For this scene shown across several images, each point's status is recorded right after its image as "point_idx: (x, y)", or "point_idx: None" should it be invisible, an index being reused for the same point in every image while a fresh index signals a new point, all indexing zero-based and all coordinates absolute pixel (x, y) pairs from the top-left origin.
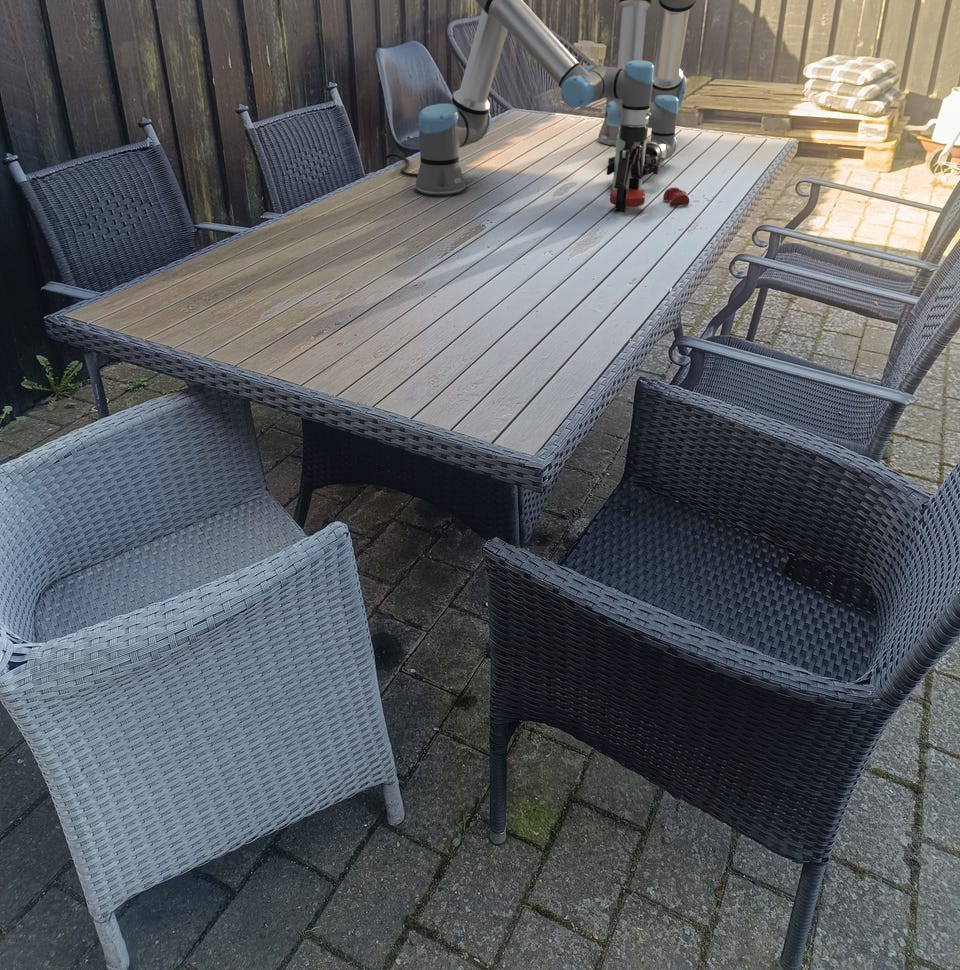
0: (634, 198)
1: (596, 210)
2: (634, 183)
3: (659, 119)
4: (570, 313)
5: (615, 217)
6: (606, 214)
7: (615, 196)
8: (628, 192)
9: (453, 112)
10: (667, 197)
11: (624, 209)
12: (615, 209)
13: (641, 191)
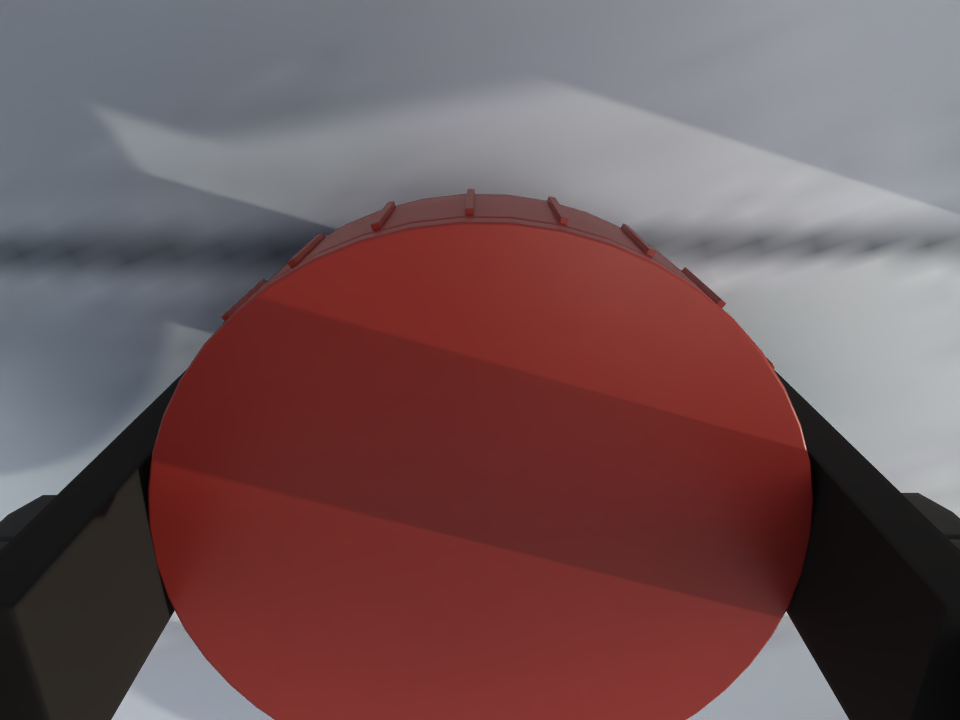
0: (263, 710)
1: (209, 26)
2: (855, 641)
3: None
4: None
5: (97, 396)
6: (131, 246)
7: (165, 422)
8: (541, 545)
9: None
10: None
11: None
12: (174, 381)
13: (690, 698)
